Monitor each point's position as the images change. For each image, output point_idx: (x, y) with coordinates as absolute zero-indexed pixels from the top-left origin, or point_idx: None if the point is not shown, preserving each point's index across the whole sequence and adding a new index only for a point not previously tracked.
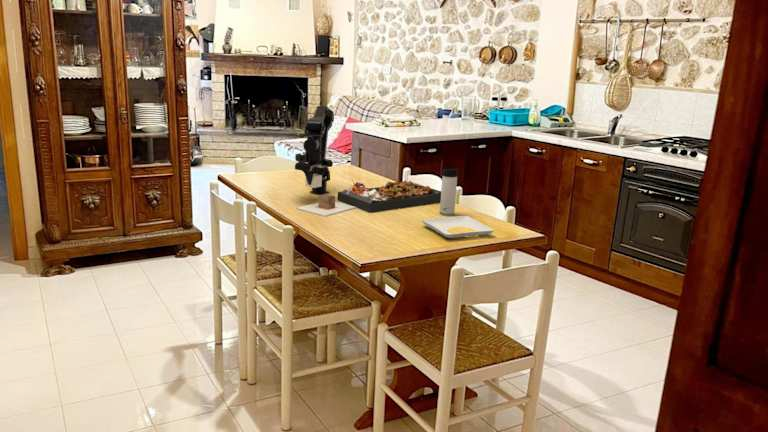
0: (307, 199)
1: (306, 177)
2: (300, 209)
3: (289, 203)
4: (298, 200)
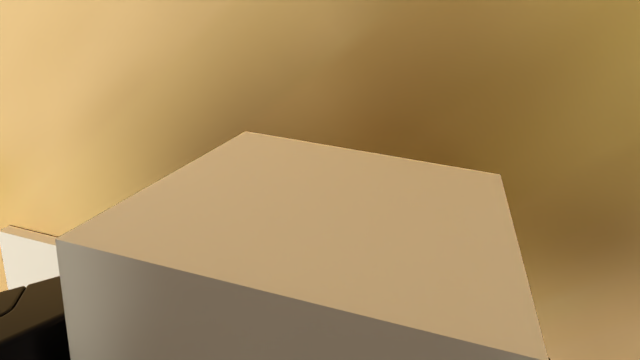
0: (381, 82)
1: (28, 302)
2: (9, 272)
3: (84, 35)
4: (256, 21)
